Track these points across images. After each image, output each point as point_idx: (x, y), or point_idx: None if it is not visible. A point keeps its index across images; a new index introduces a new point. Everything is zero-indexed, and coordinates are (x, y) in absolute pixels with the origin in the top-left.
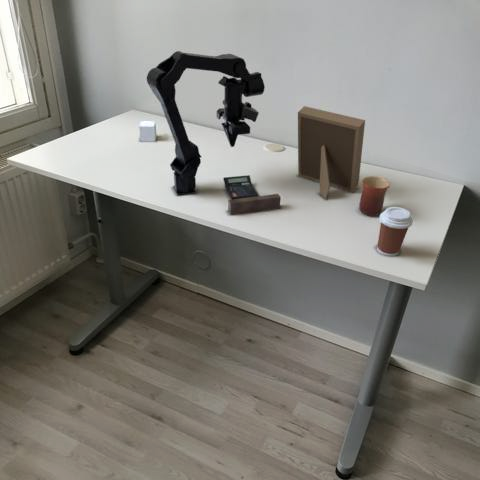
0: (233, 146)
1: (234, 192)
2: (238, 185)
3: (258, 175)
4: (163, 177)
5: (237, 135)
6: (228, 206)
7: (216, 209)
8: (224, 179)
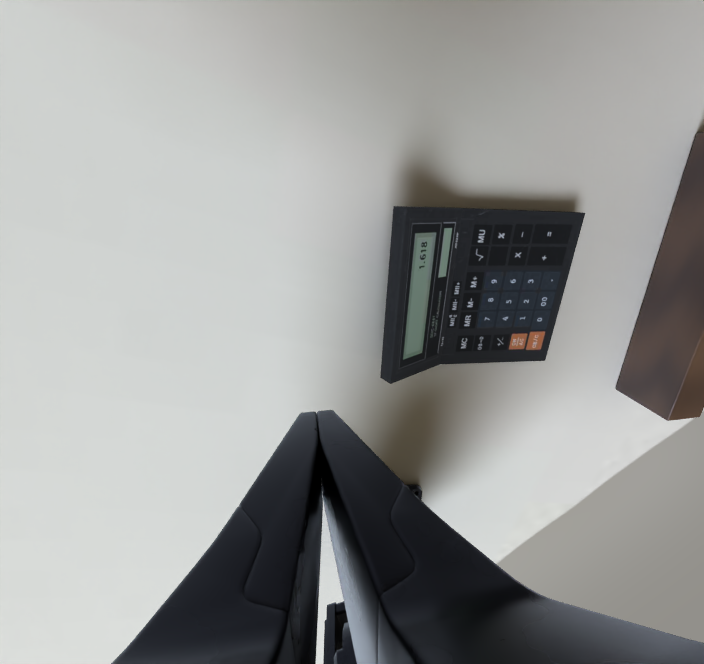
0: (332, 416)
1: (502, 335)
2: (444, 297)
3: (278, 80)
4: None
5: (452, 531)
6: (641, 402)
7: (578, 427)
8: (401, 378)
